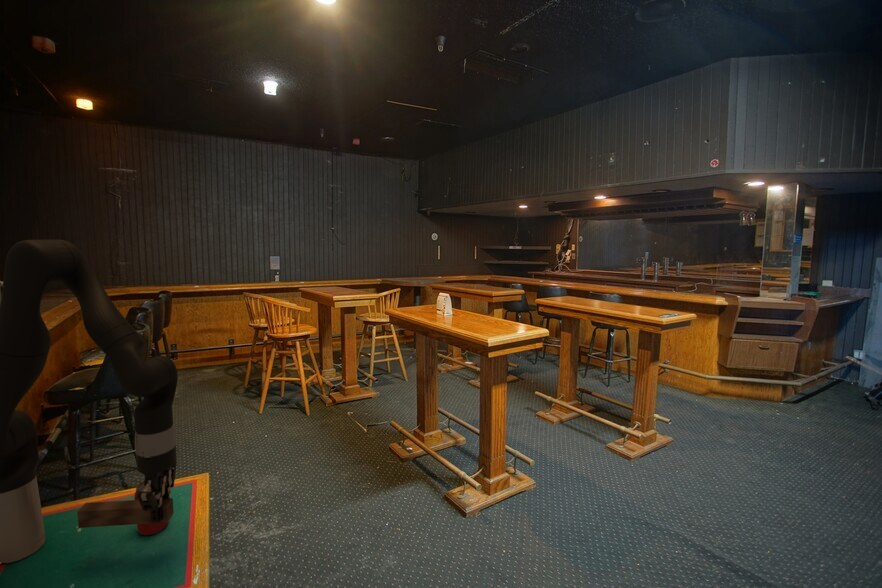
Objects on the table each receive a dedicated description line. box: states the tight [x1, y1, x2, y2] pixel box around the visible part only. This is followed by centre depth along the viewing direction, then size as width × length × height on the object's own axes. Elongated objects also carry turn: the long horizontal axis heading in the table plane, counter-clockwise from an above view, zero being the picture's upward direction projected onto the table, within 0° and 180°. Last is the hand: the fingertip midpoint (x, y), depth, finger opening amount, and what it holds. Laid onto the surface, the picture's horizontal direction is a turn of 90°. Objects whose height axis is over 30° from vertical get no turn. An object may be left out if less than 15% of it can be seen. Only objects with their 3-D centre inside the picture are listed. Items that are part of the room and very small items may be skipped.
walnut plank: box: [76, 497, 175, 529], centre depth 97 cm, size 18×3×4 cm, turn 99°
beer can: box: [133, 480, 170, 536], centre depth 108 cm, size 7×7×12 cm
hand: (160, 515), depth 99 cm, fingers closed on walnut plank, 3 cm apart
